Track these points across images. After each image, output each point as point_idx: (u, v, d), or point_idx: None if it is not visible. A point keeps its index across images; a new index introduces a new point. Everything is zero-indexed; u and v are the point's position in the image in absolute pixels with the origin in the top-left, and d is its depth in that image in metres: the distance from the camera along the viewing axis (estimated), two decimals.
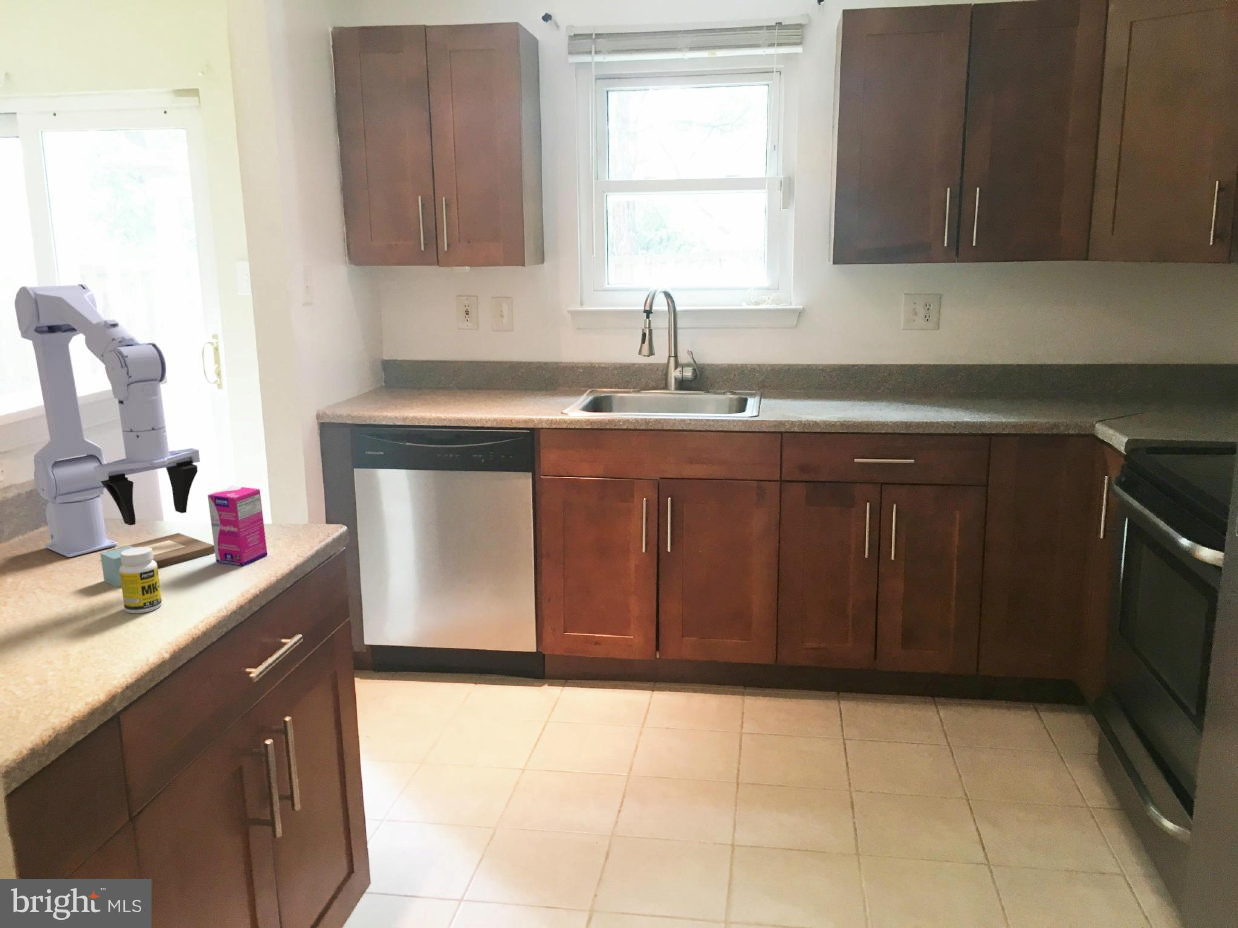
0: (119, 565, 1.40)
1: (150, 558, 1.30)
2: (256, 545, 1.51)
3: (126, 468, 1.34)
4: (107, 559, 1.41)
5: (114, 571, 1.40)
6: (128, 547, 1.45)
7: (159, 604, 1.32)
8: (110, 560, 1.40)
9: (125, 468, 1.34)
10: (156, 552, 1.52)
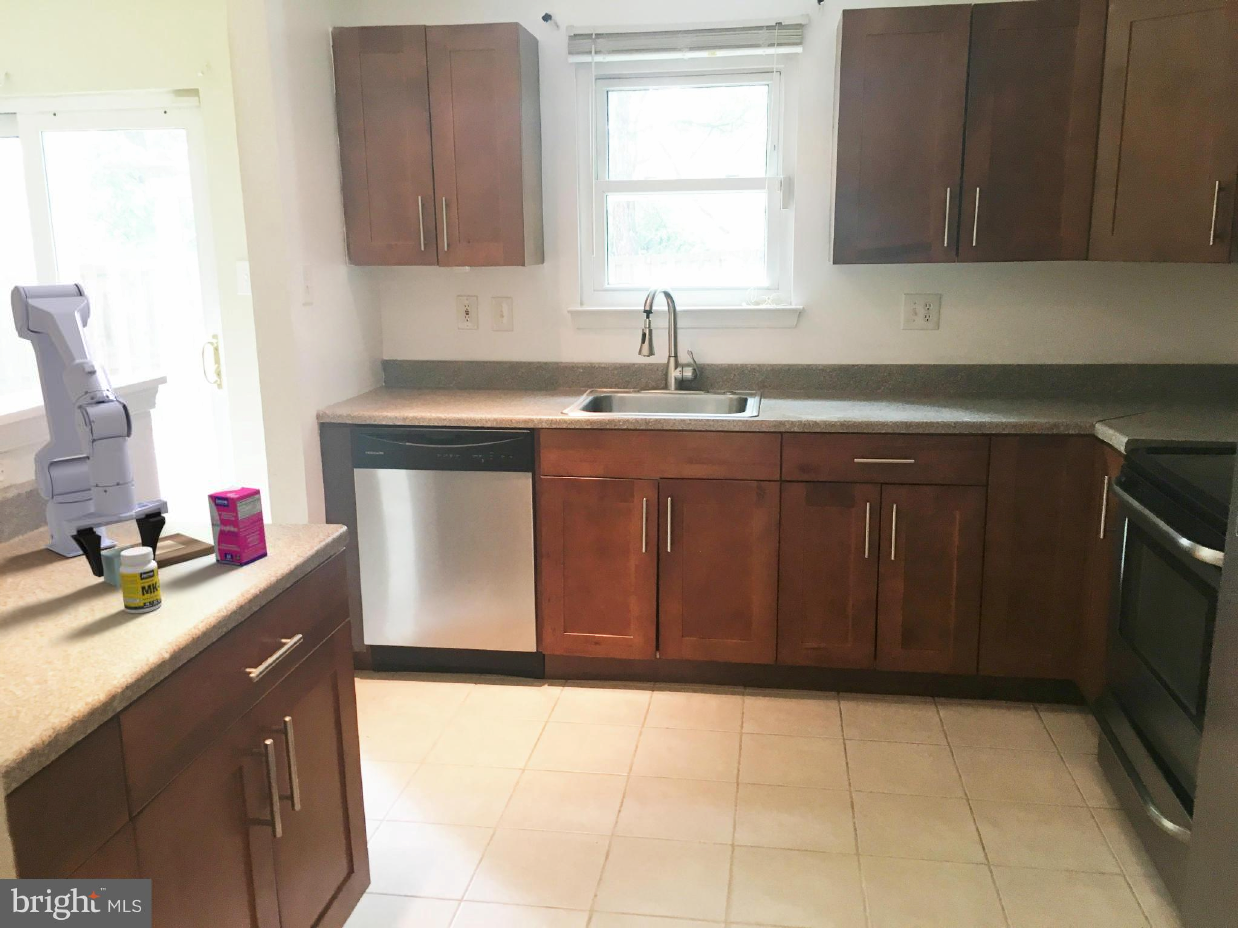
0: (119, 565, 1.40)
1: (150, 558, 1.30)
2: (256, 545, 1.51)
3: (94, 522, 1.37)
4: (107, 559, 1.41)
5: (114, 571, 1.40)
6: (128, 547, 1.45)
7: (159, 604, 1.32)
8: (110, 560, 1.40)
9: (93, 522, 1.37)
10: (156, 552, 1.52)
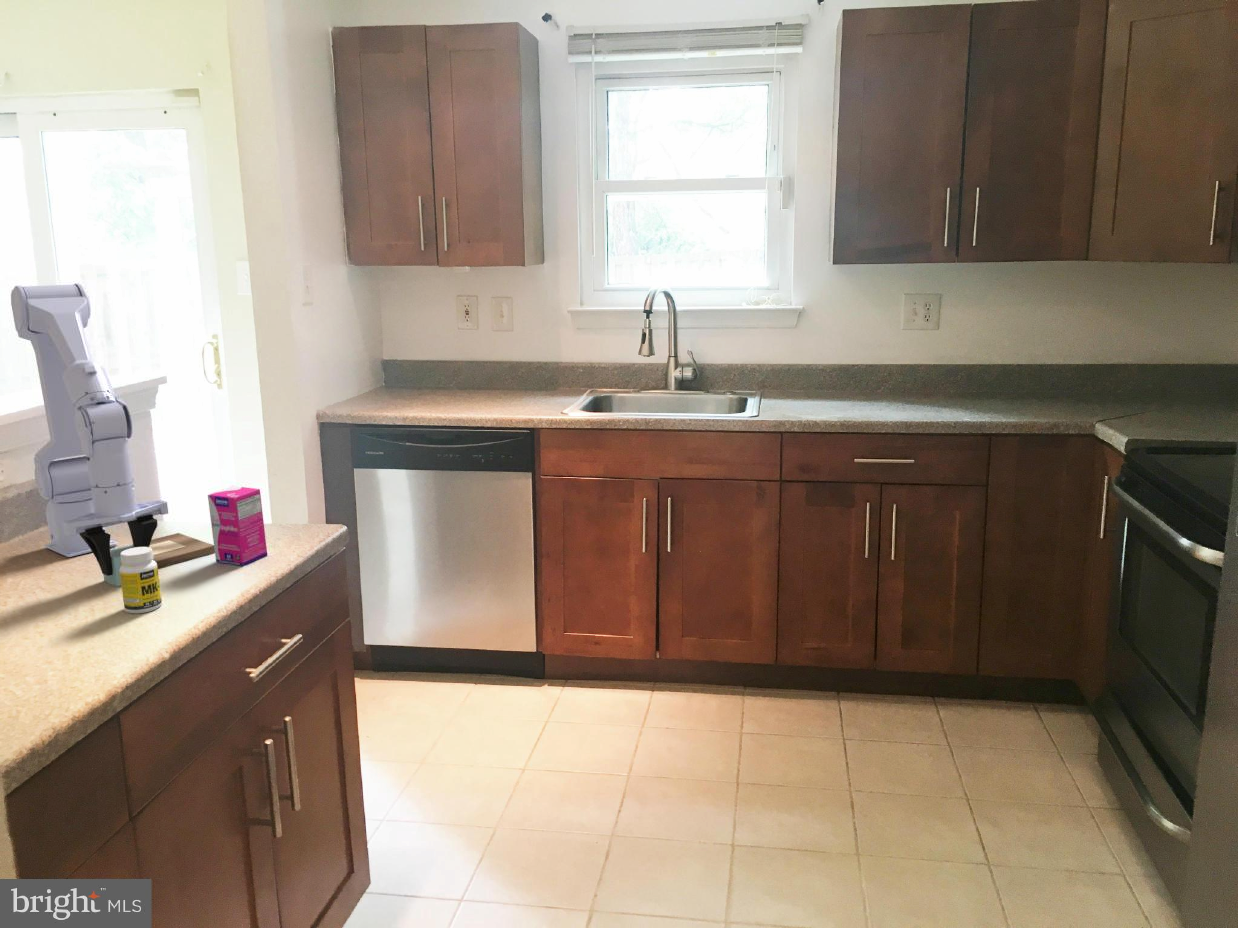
0: (119, 564, 1.40)
1: (150, 558, 1.30)
2: (256, 545, 1.51)
3: (94, 523, 1.37)
4: None
5: (114, 570, 1.40)
6: (128, 546, 1.45)
7: (159, 604, 1.32)
8: None
9: (93, 523, 1.37)
10: (156, 552, 1.52)
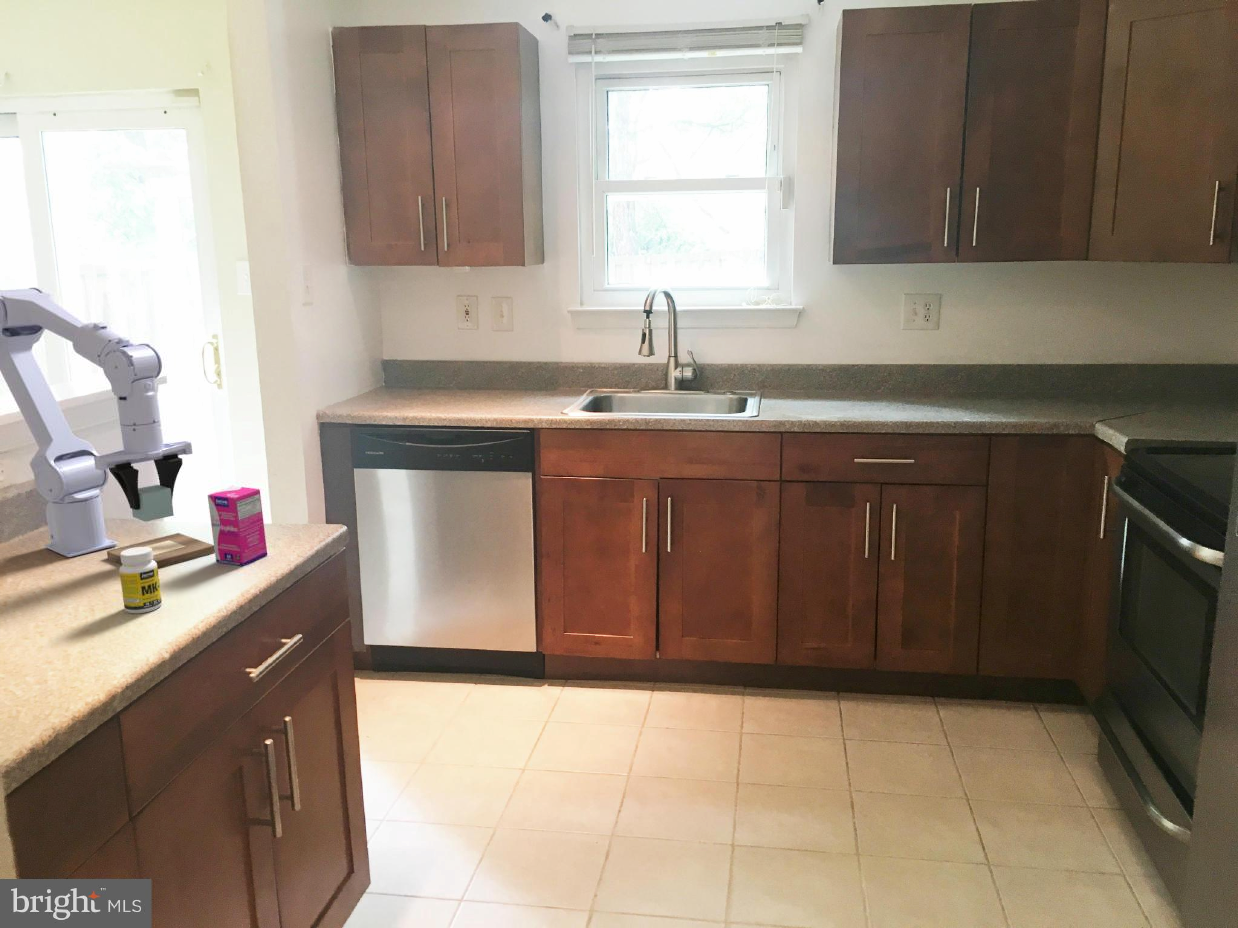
0: (146, 501, 1.49)
1: (150, 558, 1.30)
2: (256, 545, 1.51)
3: (123, 459, 1.46)
4: None
5: (142, 506, 1.49)
6: (155, 485, 1.53)
7: (159, 604, 1.32)
8: None
9: (123, 459, 1.46)
10: (156, 552, 1.52)
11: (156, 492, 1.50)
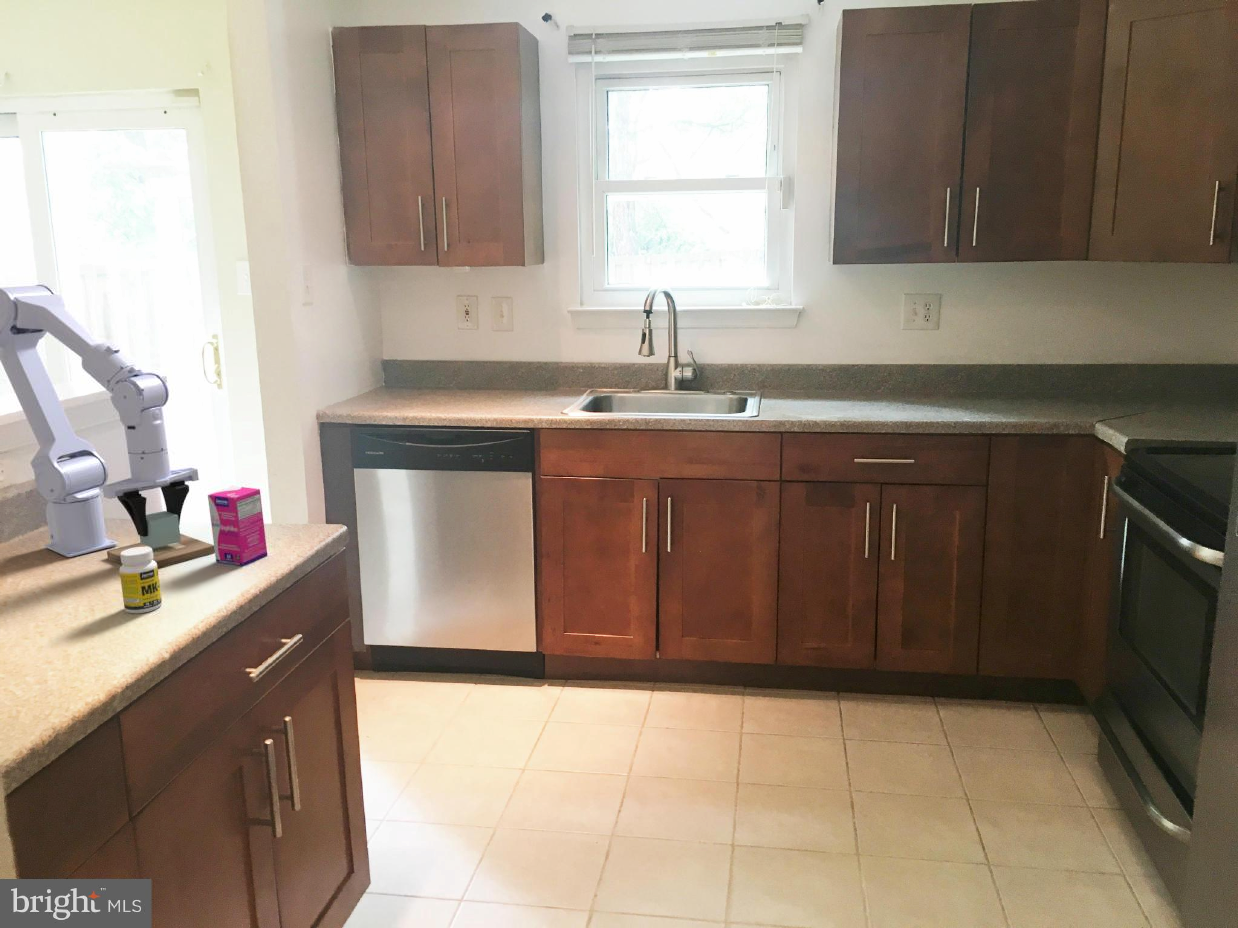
0: (154, 527, 1.51)
1: (150, 558, 1.30)
2: (256, 545, 1.51)
3: (132, 487, 1.48)
4: None
5: (150, 533, 1.51)
6: (163, 512, 1.55)
7: (159, 604, 1.32)
8: None
9: (131, 487, 1.48)
10: (156, 552, 1.52)
11: (164, 519, 1.52)
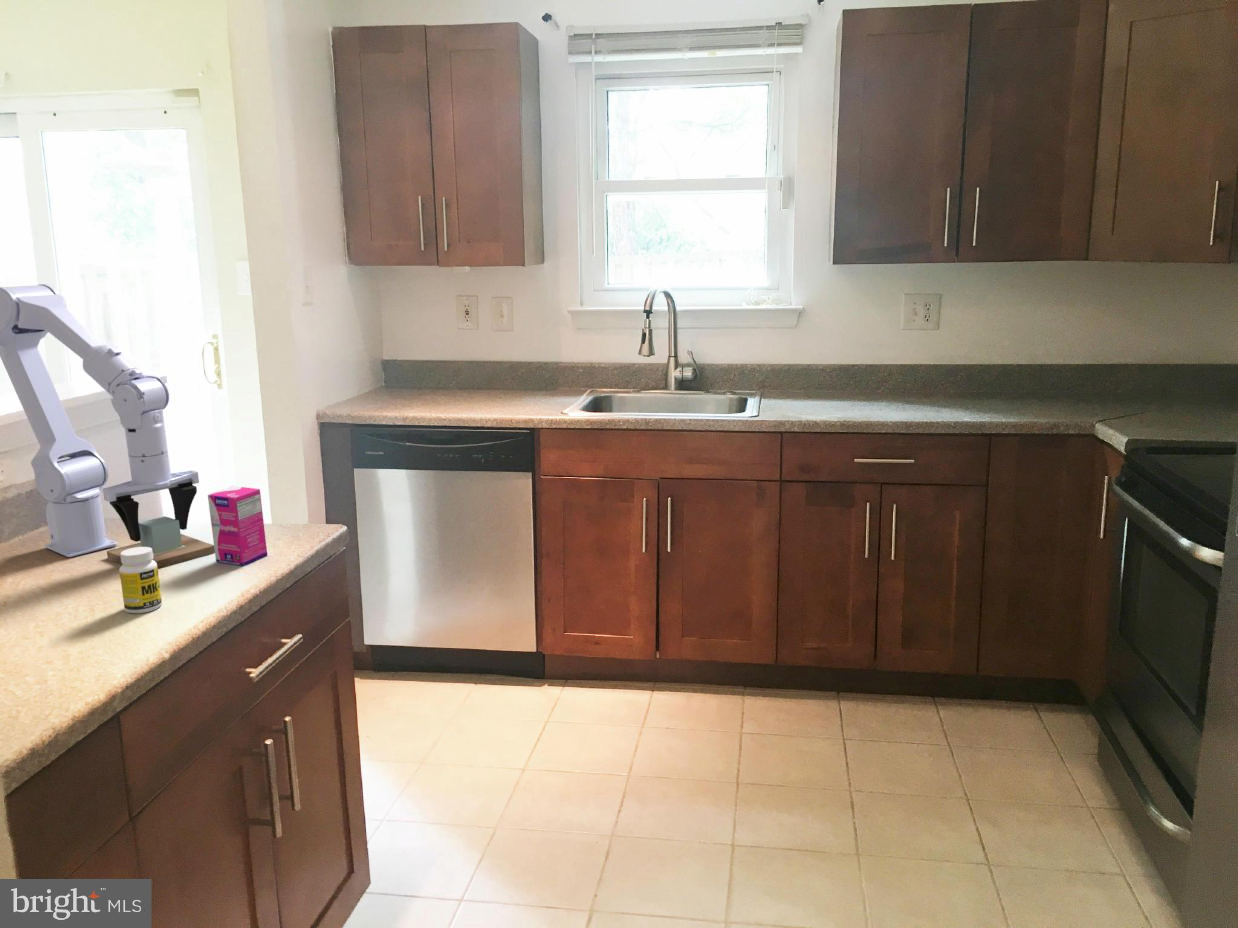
0: (156, 533, 1.51)
1: (150, 558, 1.30)
2: (256, 545, 1.51)
3: (132, 490, 1.48)
4: (144, 528, 1.52)
5: (152, 539, 1.51)
6: (163, 517, 1.56)
7: (159, 604, 1.32)
8: (148, 528, 1.51)
9: (131, 490, 1.48)
10: None
11: (165, 524, 1.52)
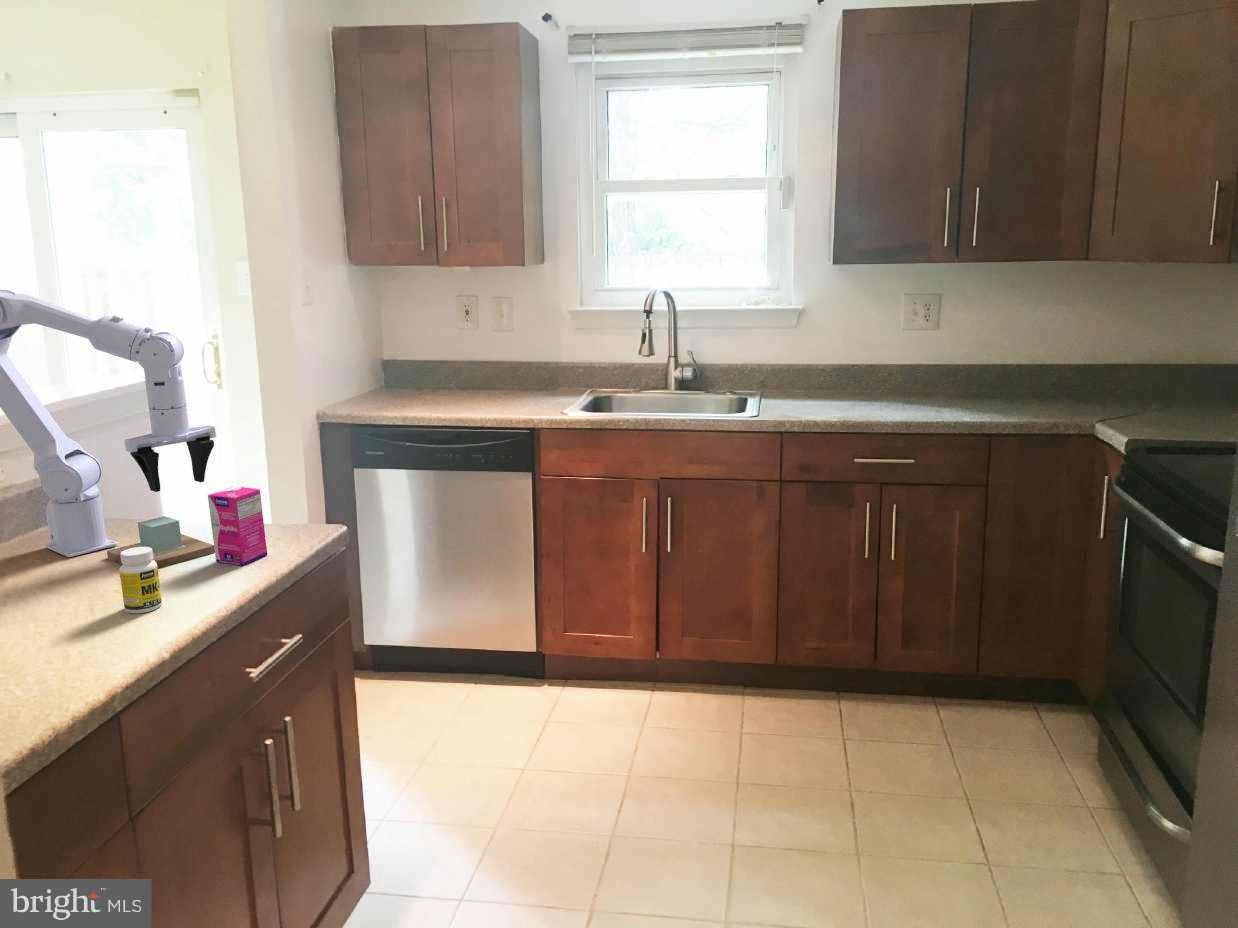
0: (156, 533, 1.51)
1: (150, 558, 1.30)
2: (256, 545, 1.51)
3: (152, 441, 1.53)
4: (144, 528, 1.52)
5: (152, 539, 1.51)
6: (163, 517, 1.56)
7: (159, 604, 1.32)
8: (148, 528, 1.51)
9: (152, 441, 1.53)
10: None
11: (165, 524, 1.52)
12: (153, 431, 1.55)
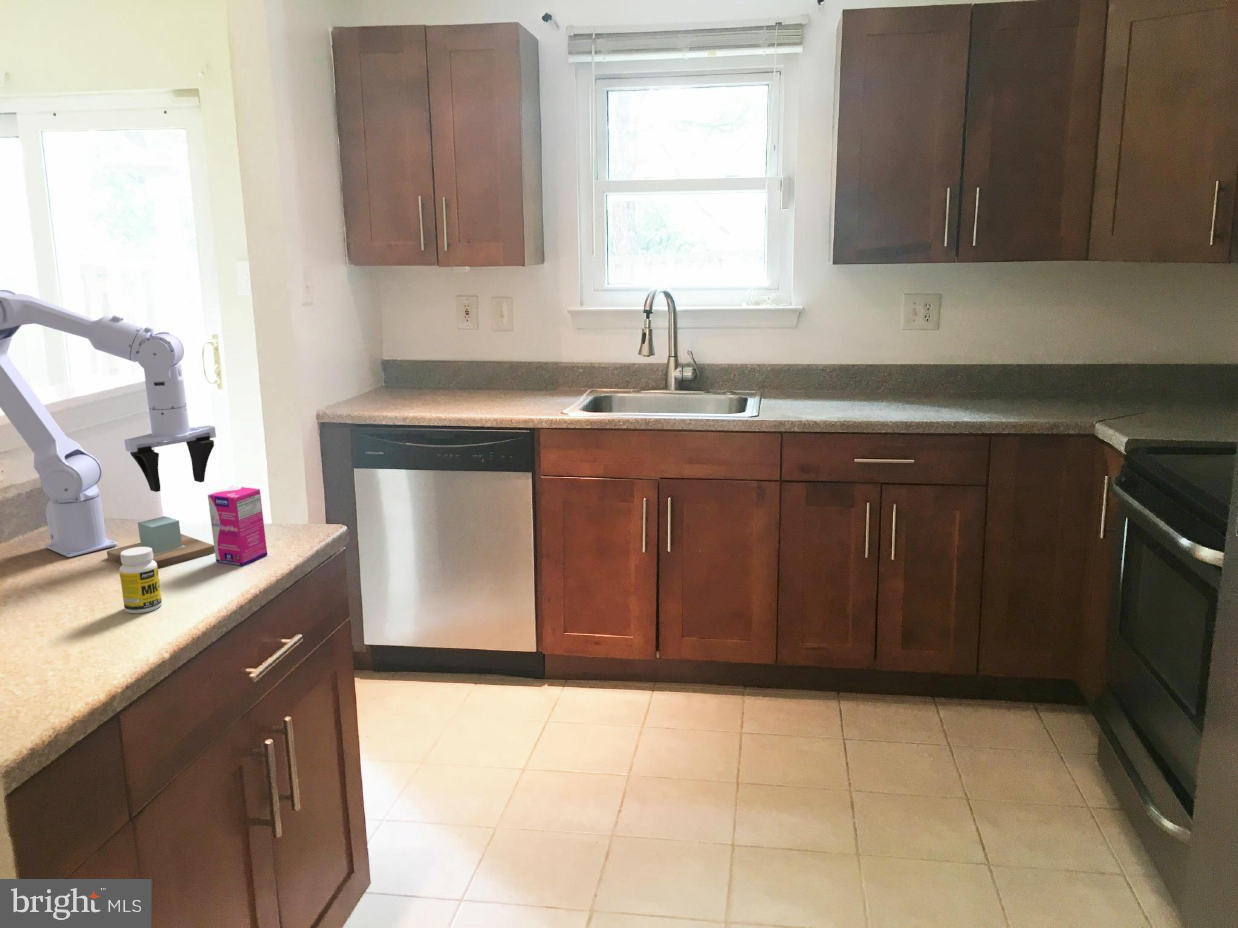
0: (156, 533, 1.51)
1: (150, 558, 1.30)
2: (256, 545, 1.51)
3: (152, 441, 1.53)
4: (144, 528, 1.52)
5: (152, 539, 1.51)
6: (163, 517, 1.56)
7: (159, 604, 1.32)
8: (148, 528, 1.51)
9: (152, 441, 1.53)
10: None
11: (165, 524, 1.52)
12: (153, 431, 1.55)
